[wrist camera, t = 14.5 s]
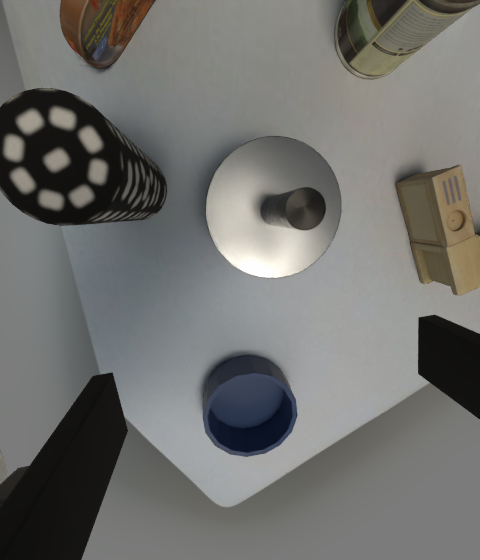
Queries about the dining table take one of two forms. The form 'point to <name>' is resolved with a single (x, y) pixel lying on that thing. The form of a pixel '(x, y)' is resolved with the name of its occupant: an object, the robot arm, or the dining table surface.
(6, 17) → the dining table surface
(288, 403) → the pan
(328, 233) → the lid
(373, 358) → the dining table surface
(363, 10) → the coffee can
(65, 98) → the white-spotted black cylinder
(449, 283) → the toy kitchen set
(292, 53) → the dining table surface
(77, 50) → the tin
